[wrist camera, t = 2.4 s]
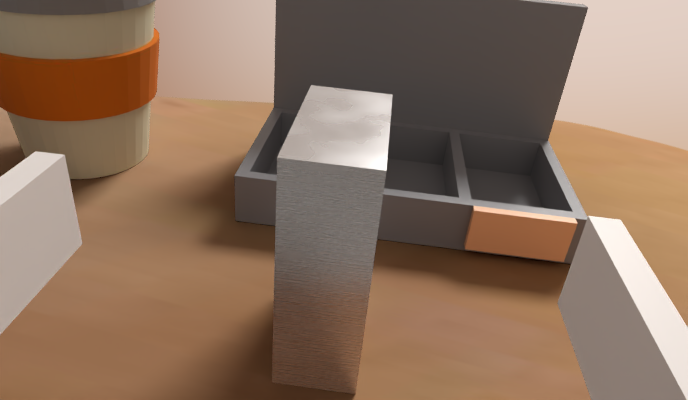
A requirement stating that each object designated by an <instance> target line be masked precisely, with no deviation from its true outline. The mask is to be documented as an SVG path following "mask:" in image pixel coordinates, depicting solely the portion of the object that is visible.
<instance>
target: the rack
mask: <svg viewBox="0 0 688 400" xmlns="http://www.w3.org/2000/svg"><path fill="white" fill-rule="evenodd" d="M587 9H588V7H587V6H585V5H583V4H572V3H564V2H555V1H545V0H276V35H275V84H274V108H273V110H272V112H271V114H270V115H269V117H268V119H267V120H266V122H265V124H264V126H263V127H262V129H261V131H260V133H259V134H258V136H257V138H256V139H255V141H254V143H253V145H252V146H251V148H250V150H249V151H248V153H247V155H246V157H245V158H244V160H243V162H242V164H241V165H240V167H239V169H238V170H237V172H236V174H235V176H234V178H235V221H242V222H250V223H257V224H265V225H273V226H276V185H277V157H278V155H279V152H280V150H281V148H282V146H283V144H284V142H285V140H286V137H287V135H288V133H289V131H290V129H291V127H292V125H293V122H294V120H295V118H296V116H297V114H298V112H299V110H300V108H301V105H302V103H303V101H304V99H305V97H306V95H307V93H308V90H309V88H310V86H311V85H315V86H323V87H332V88H341V89H349V90H358V91H367V92H375V93H384V94H392V95H393V97H392V109H391V121H390V134H389V146H388V158H387V171H386V178H385V185H384V192H383V200H382V207H381V214H380V221H379V228H378V235H377V239H381V240H389V241H397V242H404V243H412V244H420V245H428V246H435V247H443V248H451V249H459V250H466V251H474V252H482V253H490V254H497V255H505V256H513V257H521V258H528V259H536V260H544V261H551V262H559V263H567V264H572V261H573V258H574V255H575V252H576V249H577V247H578V244H579V241H580V238H581V235H582V233H583V230H584V227H585V224H586V221H587V218H588V217H587V215H586V214H585V212H584V210H583V208H582V206H581V204H580V202H579V200H578V198H577V196H576V194H575V192H574V190H573V188H572V186H571V184H570V182H569V180H568V178H567V176H566V175H565V173H564V171H563V169H562V167H561V165H560V163H559V161H558V159H557V157H556V155H555V153H554V151H553V149H552V147H551V145H550V143H549V141H548V138H549V135H550V132H551V129H552V125H553V122H554V119H555V115H556V112H557V109H558V105H559V102H560V99H561V95H562V92H563V89H564V86H565V82H566V79H567V76H568V72H569V69H570V66H571V62H572V59H573V56H574V52H575V49H576V46H577V43H578V39H579V36H580V32H581V29H582V26H583V23H584V19H585V16H586V13H587Z"/></svg>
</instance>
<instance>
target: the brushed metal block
mask: <svg viewBox="0 0 688 400" xmlns="http://www.w3.org/2000/svg"><path fill="white" fill-rule="evenodd" d="M392 97H393V95H392V94H384V93H375V92H367V91H358V90H349V89H341V88H332V87H323V86H315V85H311V86H310V88H309V90H308V93H307V95H306V97H305V99H304V101H303V103H302V105H301V108H300V110H299V112H298V114H297V116H296V118H295V120H294V122H293V125H292V127H291V129H290V131H289V133H288V135H287V137H286V140H285V142H284V144H283V146H282V148H281V150H280V152H279V155H278V157H277V185H276V228H275V272H274V315H273V359H272V383H279V384H286V385H293V386H300V387H307V388H314V389H321V390H328V391H335V392H342V393H349V394H355V393H356V386H357V379H358V372H359V365H360V358H361V350H362V343H363V336H364V329H365V322H366V314H367V307H368V300H369V293H370V286H371V279H372V271H373V264H374V257H375V250H376V243H377V235H378V228H379V221H380V214H381V207H382V200H383V192H384V185H385V178H386V171H387V158H388V146H389V134H390V121H391V109H392Z"/></svg>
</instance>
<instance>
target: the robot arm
mask: <svg viewBox="0 0 688 400" xmlns="http://www.w3.org/2000/svg"><path fill="white" fill-rule="evenodd" d="M81 245H82V239H81V234H80V229H79V224H78V219H77V214H76V209H75V204H74V199H73V194H72V189H71V184H70V179H69V174H68V169H67V164H66V159H65V155H63V154H54V153H46V152H37V151H35V152H34V153H33V154H31V155H30V156H29V157H27V158H26V159H24V160H23V161H22V162H20V163H19V164H17V165H16V166H15V167H13V168H12V169H11V170H9V171H8V172H6V173H5V174H4V175H2V176H1V177H0V334H1V333H2V332H3V331H4V330H5V329H6V328H7V327H8V325H9V324H10V323H11V322H12V321H13V320H14V319H15V318H16V317H17V316H18V314H19V313H20V312H21V311H22V310H23V309H24V308H25V307H26V306H27V304H28V303H29V302H30V301H31V300H32V299H33V298H34V297H35V296H36V294H37V293H38V292H39V291H40V290H41V289H42V288H43V287H44V286H45V285H46V283H47V282H48V281H49V280H50V279H51V278H52V277H53V276H54V275H55V273H56V272H57V271H58V270H59V269H60V268H61V267H62V266H63V265H64V263H65V262H66V261H67V260H68V259H69V258H70V257H71V256H72V255H73V254H74V252H75V251H76V250H77V249H78V248H79V247H80V246H81ZM558 306H559V309H560V312H561V314H562V317H563V320H564V323H565V326H566V329H567V332H568V334H569V337H570V340H571V343H572V346H573V349H574V352H575V354H576V357H577V360H578V363H579V366H580V369H581V371H582V374H583V377H584V380H585V383H586V386H587V389H588V391H589V394H590V397H591V400H688V327H687V326H686V324H685V322H684V321H683V319H682V317H681V316H680V314H679V313H678V311H677V309H676V308H675V306H674V305H673V303H672V301H671V300H670V298H669V297H668V295H667V293H666V292H665V290H664V289H663V287H662V285H661V284H660V282H659V281H658V279H657V277H656V276H655V274H654V273H653V271H652V269H651V268H650V266H649V265H648V263H647V261H646V260H645V258H644V257H643V255H642V253H641V252H640V250H639V249H638V247H637V245H636V244H635V242H634V241H633V239H632V237H631V236H630V234H629V233H628V231H627V229H626V228H625V226H624V225H623V223H622V221H621V220H619V219H610V218H602V217H593V216H588V218H587V221H586V224H585V227H584V230H583V233H582V235H581V238H580V241H579V244H578V247H577V249H576V252H575V255H574V258H573V261H572V264H571V266H570V269H569V272H568V275H567V278H566V281H565V283H564V286H563V289H562V292H561V295H560V297H559V300H558Z"/></svg>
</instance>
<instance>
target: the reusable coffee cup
mask: <svg viewBox="0 0 688 400" xmlns="http://www.w3.org/2000/svg"><path fill="white" fill-rule="evenodd" d="M154 11H155V0H0V107H1V108H3V109H4V110H6V111H7V113H8V115H9V118H10V120H11V123H12V125H13V128H14V130H15V133H16V135H17V138H18V140H19V143H20V145H21V148H22V150H23V153H24V155H25V157H26V158H27V157H29V156H30V155H31V154H33V153H34V152H35V151H37V152H46V153H54V154H63V155H65V159H66V164H67V169H68V174H69V179H89V178H97V177H104V176H108V175H112V174H116V173H119V172H122V171H125V170H127V169H129V168H131V167H133V166H135V165H137V164H138V163H139V162H141V161H142V160H143V159H144V158H145V157H146V155H147V153H148V151H149V128H150V105H151V100H152V99H153V98H154V97H155V94H156V92H157V74H158V55H159V54H158V53H159V33H158V31H157V30H156V29H155V28H154V13H155V12H154Z"/></svg>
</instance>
